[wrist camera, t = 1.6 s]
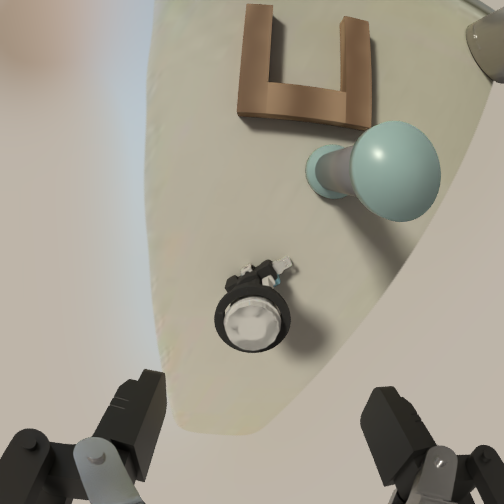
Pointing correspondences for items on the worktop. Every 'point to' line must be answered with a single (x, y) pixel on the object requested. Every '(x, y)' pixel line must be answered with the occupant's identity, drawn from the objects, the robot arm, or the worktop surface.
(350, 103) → the notched board
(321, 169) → the spool
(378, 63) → the worktop surface
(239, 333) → the push button
